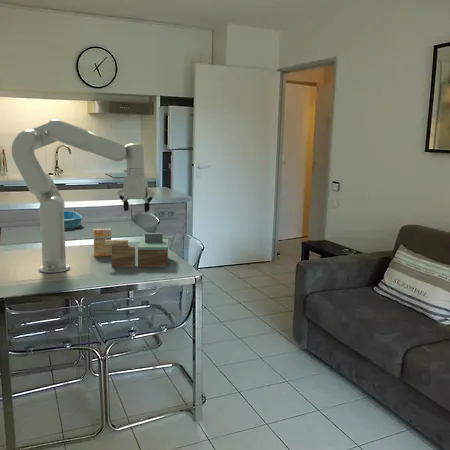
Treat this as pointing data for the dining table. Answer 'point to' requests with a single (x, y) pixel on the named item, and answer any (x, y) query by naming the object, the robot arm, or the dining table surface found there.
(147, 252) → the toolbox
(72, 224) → the casserole dish
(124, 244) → the tan wooden bar
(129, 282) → the dining table surface
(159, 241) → the lid
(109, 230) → the supplement box
